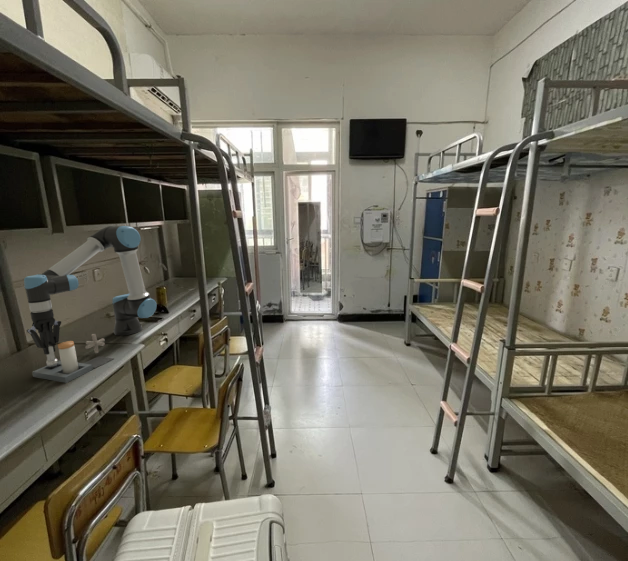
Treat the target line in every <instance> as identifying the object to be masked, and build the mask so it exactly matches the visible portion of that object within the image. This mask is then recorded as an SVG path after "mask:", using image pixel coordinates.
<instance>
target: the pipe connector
mask: <svg viewBox="0 0 628 561" xmlns="http://www.w3.org/2000/svg"><path fill="white" fill-rule="evenodd" d="M91 339H92V340H87V341H85V350H89V349H91V348H93V352H94V354H99V352H100V351H99V350H100V349H99V347H100V346H101V347H104V346H105V345H106V343H105V341H106V340H105V338H104V337H102V338H100V339H97V334H96V333H92V334H91Z"/></svg>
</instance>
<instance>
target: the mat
mask: <svg viewBox="0 0 628 561" xmlns="http://www.w3.org/2000/svg"><path fill="white" fill-rule="evenodd" d="M113 360H115V358H111V357H107V356H96V357H94V358H92V359H90V360H87V361H85V362H83V363H84V364H91V365H92V368H93V370H96V369H97V368H99V367H101V366H103V365H105V364H107V363H109V362H112V361H113Z"/></svg>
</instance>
